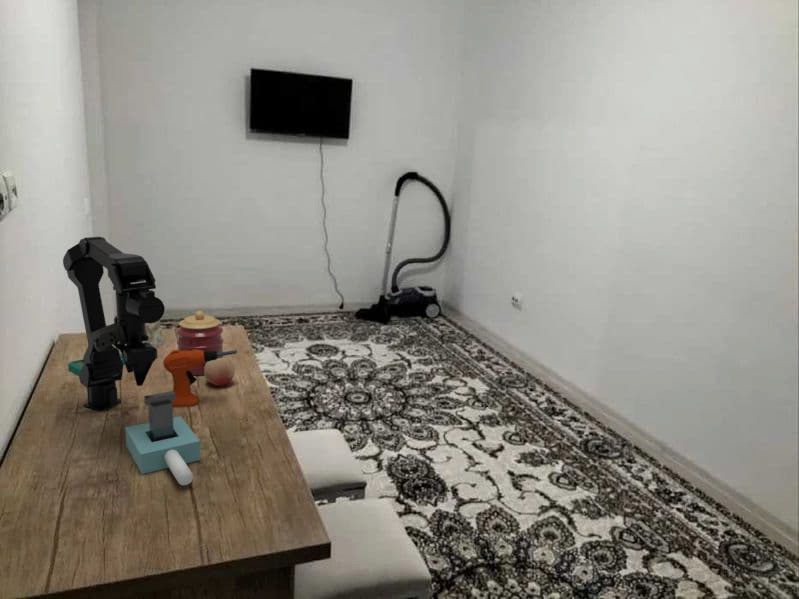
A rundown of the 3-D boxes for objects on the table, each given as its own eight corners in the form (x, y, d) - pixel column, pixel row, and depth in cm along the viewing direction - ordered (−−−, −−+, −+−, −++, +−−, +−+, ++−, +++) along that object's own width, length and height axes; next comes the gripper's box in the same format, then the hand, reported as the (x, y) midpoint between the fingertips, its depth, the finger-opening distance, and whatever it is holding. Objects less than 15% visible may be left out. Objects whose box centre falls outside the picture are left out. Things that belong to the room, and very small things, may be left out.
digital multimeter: (129, 365, 188) (129, 355, 187) (79, 377, 176) (79, 368, 175) (116, 359, 192) (116, 349, 191) (67, 371, 180) (66, 361, 180)
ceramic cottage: (142, 333, 215) (139, 291, 211) (174, 344, 207) (171, 301, 202) (100, 346, 203) (95, 303, 198) (132, 360, 195) (128, 314, 190)
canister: (175, 377, 179) (173, 317, 175) (180, 361, 191) (178, 305, 187) (223, 375, 182) (222, 316, 178) (224, 360, 194) (223, 305, 190)
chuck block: (126, 445, 139) (125, 427, 138) (181, 433, 146) (180, 416, 145) (154, 497, 120) (153, 476, 119) (216, 481, 127) (215, 461, 126)
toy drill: (243, 398, 164) (235, 344, 160) (168, 411, 160) (157, 356, 155) (243, 390, 168) (235, 338, 164) (169, 403, 164) (159, 349, 160)
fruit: (231, 377, 181) (230, 351, 179) (236, 387, 174) (236, 360, 172) (202, 380, 178) (201, 354, 176) (207, 391, 171) (206, 363, 169)
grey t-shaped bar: (145, 452, 137) (142, 394, 134) (174, 445, 140) (171, 389, 137) (150, 460, 134) (147, 400, 131) (179, 453, 137) (176, 395, 134)
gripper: (83, 306, 142) (88, 371, 146) (99, 328, 127) (104, 400, 131) (135, 301, 148) (139, 363, 152) (156, 322, 134) (159, 390, 137)
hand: (134, 378), depth 143 cm, fingers open, 9 cm apart
